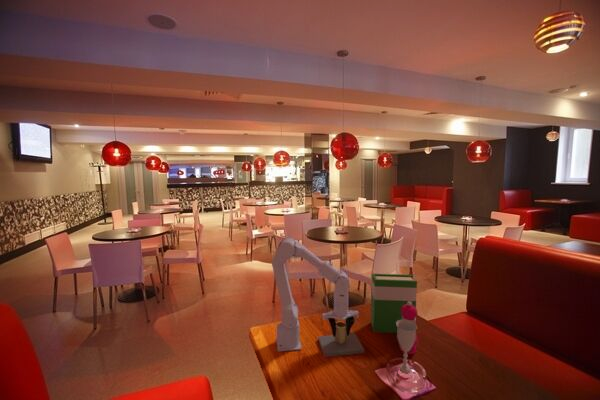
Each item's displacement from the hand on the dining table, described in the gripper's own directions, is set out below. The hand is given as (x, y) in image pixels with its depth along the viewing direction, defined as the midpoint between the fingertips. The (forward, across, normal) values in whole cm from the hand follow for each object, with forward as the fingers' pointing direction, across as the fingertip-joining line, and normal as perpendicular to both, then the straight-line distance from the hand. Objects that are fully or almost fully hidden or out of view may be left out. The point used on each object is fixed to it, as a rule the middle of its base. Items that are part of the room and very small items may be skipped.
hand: (340, 334), depth 111 cm
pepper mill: (+5, +26, -6) cm, 27 cm away
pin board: (+5, 0, 0) cm, 5 cm away
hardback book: (+5, +27, +9) cm, 29 cm away
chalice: (+5, +18, -18) cm, 26 cm away
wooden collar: (+2, 0, 0) cm, 2 cm away
